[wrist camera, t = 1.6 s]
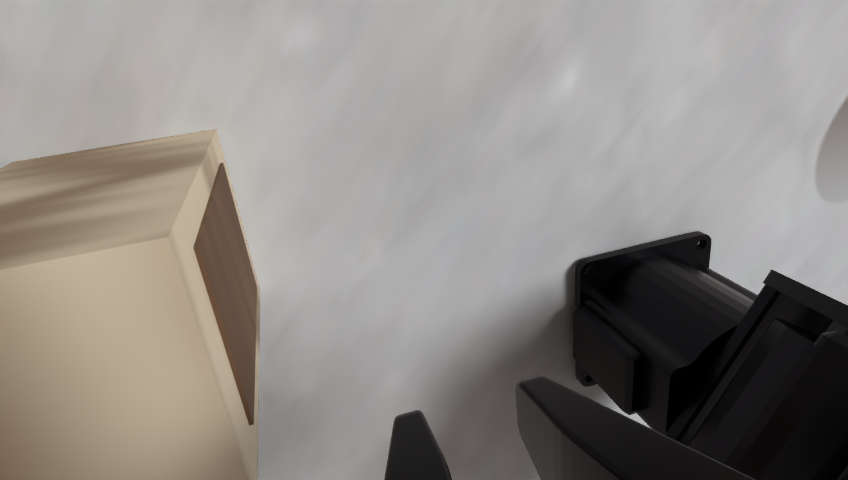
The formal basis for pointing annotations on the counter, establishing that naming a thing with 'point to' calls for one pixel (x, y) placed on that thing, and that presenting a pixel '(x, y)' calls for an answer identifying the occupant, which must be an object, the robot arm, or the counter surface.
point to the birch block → (127, 316)
